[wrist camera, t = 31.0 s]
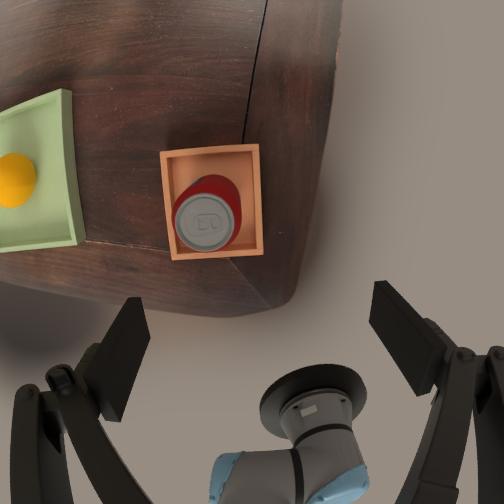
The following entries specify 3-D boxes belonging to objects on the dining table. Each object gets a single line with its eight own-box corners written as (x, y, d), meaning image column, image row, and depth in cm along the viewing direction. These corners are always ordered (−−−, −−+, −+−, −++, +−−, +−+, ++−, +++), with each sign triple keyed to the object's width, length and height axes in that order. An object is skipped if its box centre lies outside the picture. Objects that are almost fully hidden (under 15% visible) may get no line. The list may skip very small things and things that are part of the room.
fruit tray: (86, 238, 39) (77, 245, 37) (0, 247, 39) (-10, 253, 36) (72, 90, 32) (61, 88, 29) (-16, 125, 31) (-27, 126, 29)
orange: (2, 188, 35) (-27, 197, 28) (17, 142, 33) (-14, 146, 26) (34, 211, 37) (4, 225, 30) (50, 164, 35) (20, 171, 28)
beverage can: (185, 175, 37) (164, 188, 26) (239, 172, 37) (241, 183, 26) (189, 226, 39) (171, 260, 28) (241, 224, 39) (243, 257, 28)
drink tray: (261, 246, 41) (263, 254, 38) (176, 252, 41) (171, 260, 38) (256, 143, 37) (258, 143, 34) (165, 151, 36) (159, 151, 33)
